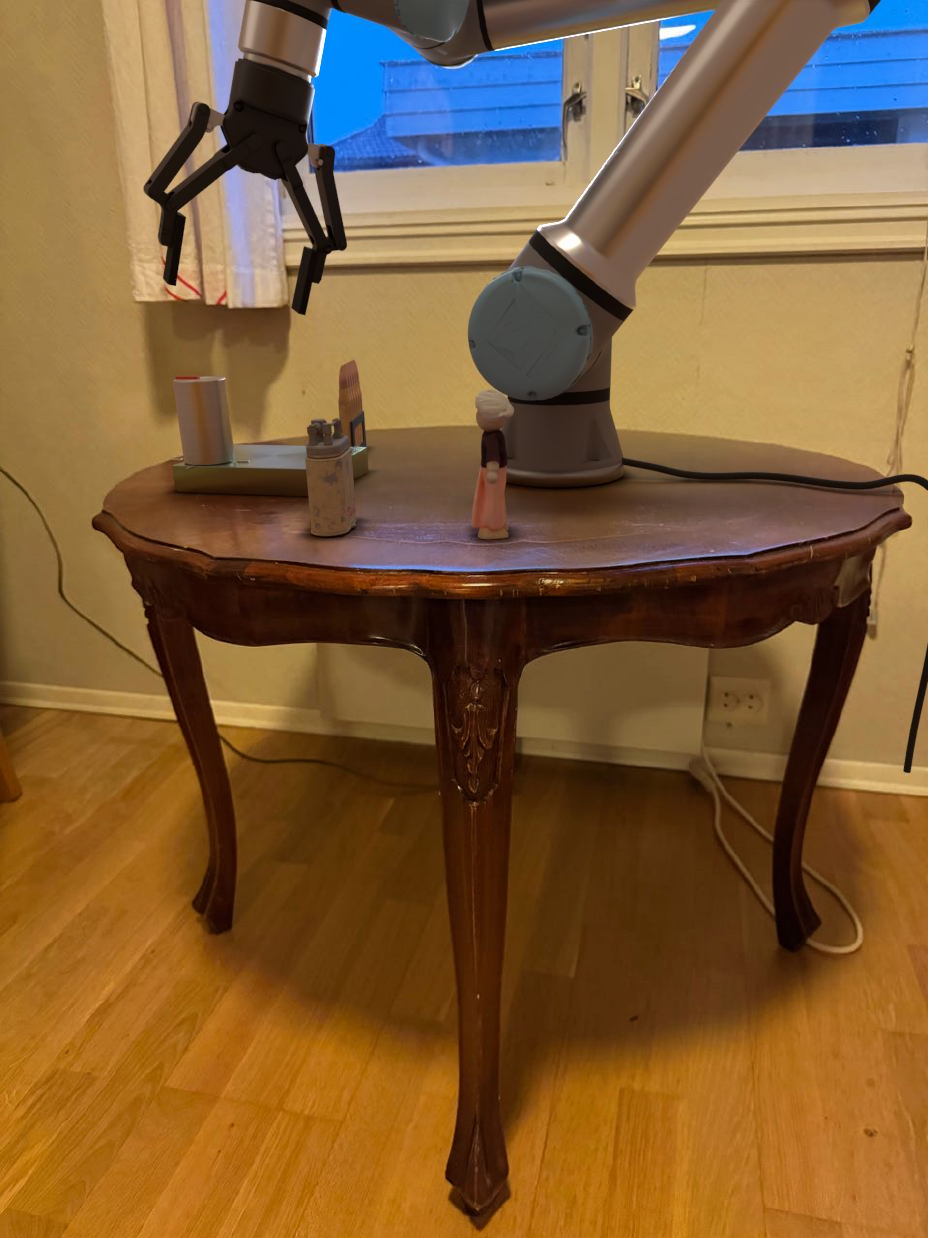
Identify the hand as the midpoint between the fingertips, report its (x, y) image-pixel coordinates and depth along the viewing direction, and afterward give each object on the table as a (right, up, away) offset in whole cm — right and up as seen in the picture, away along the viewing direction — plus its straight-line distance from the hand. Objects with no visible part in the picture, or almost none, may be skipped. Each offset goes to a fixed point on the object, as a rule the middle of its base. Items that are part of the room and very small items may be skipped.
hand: (236, 297), depth 91 cm
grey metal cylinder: (-5, -15, +8) cm, 18 cm away
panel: (+1, -18, +11) cm, 21 cm away
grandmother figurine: (+26, -26, -12) cm, 39 cm away
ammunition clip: (+9, -11, +27) cm, 31 cm away
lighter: (+12, -25, -9) cm, 29 cm away
